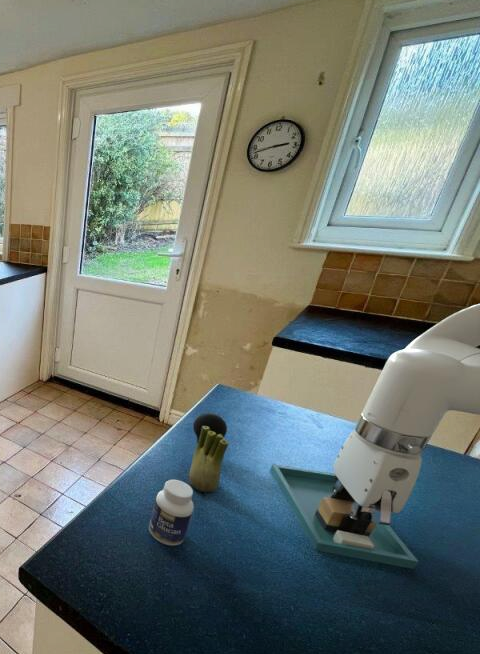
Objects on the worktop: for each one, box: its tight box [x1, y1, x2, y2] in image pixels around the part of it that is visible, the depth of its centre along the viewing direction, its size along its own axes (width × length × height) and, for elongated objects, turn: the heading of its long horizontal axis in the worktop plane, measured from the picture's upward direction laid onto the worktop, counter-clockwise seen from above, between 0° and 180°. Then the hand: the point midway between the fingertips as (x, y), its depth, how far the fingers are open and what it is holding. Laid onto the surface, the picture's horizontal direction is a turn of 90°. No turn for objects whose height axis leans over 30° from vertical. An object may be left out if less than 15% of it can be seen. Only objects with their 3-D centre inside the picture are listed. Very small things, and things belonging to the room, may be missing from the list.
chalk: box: [333, 530, 374, 549], centre depth 64 cm, size 4×2×2 cm, turn 72°
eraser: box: [315, 497, 377, 537], centre depth 68 cm, size 6×4×4 cm, turn 74°
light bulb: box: [192, 412, 228, 444], centre depth 84 cm, size 6×6×10 cm
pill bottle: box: [148, 479, 195, 547], centre depth 66 cm, size 5×5×10 cm
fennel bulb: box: [188, 426, 229, 493], centre depth 76 cm, size 6×5×12 cm
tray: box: [269, 463, 420, 570], centre depth 71 cm, size 13×20×2 cm, turn 164°
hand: (342, 523), depth 68 cm, fingers closed on eraser, 3 cm apart
